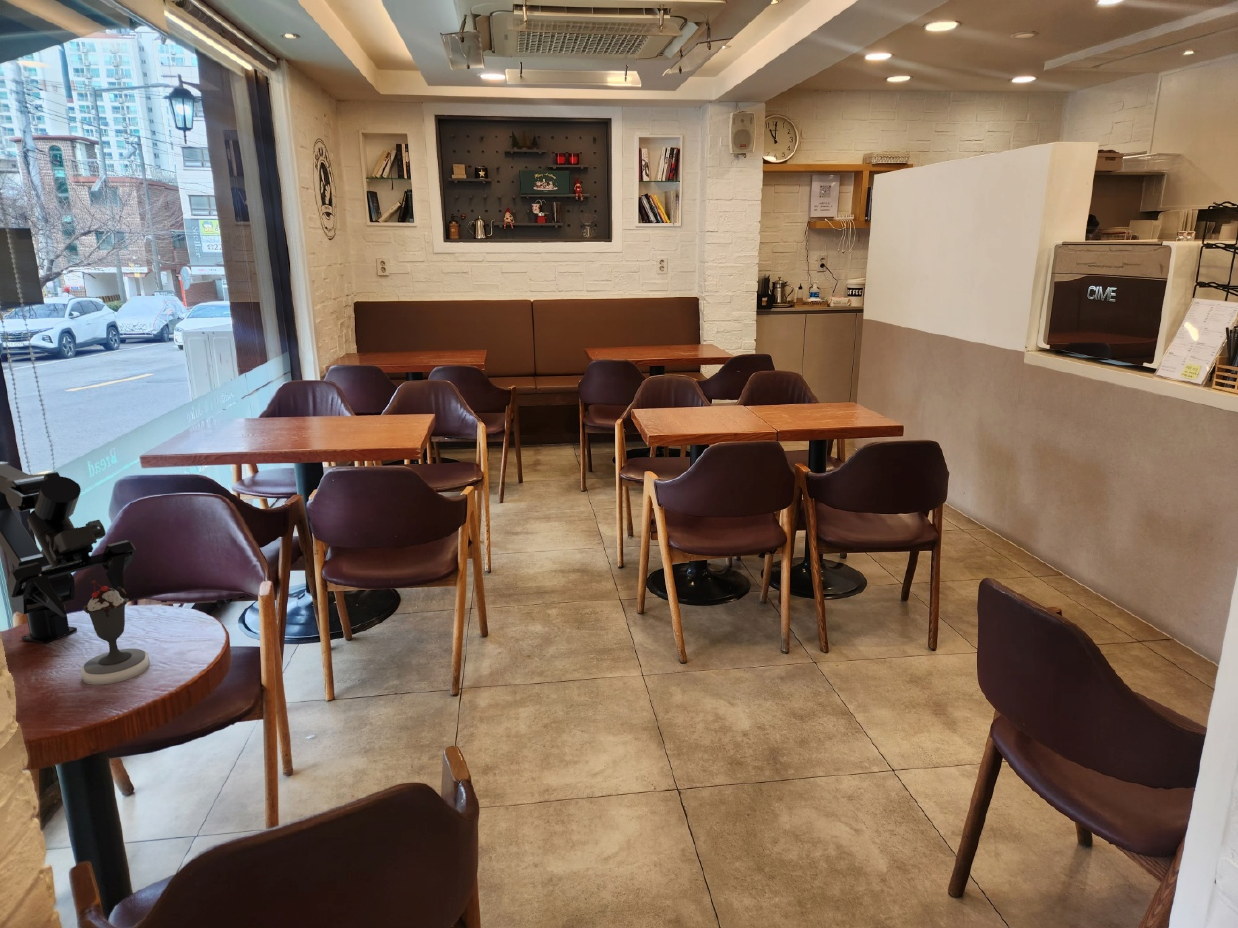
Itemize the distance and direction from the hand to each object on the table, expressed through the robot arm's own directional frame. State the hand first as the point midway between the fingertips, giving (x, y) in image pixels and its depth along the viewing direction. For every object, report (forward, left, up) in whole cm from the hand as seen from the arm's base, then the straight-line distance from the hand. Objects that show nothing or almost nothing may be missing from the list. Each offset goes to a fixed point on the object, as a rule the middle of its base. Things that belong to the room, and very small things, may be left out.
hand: (94, 606), depth 136 cm
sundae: (+4, -1, -9) cm, 10 cm away
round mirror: (+4, -1, -11) cm, 12 cm away
